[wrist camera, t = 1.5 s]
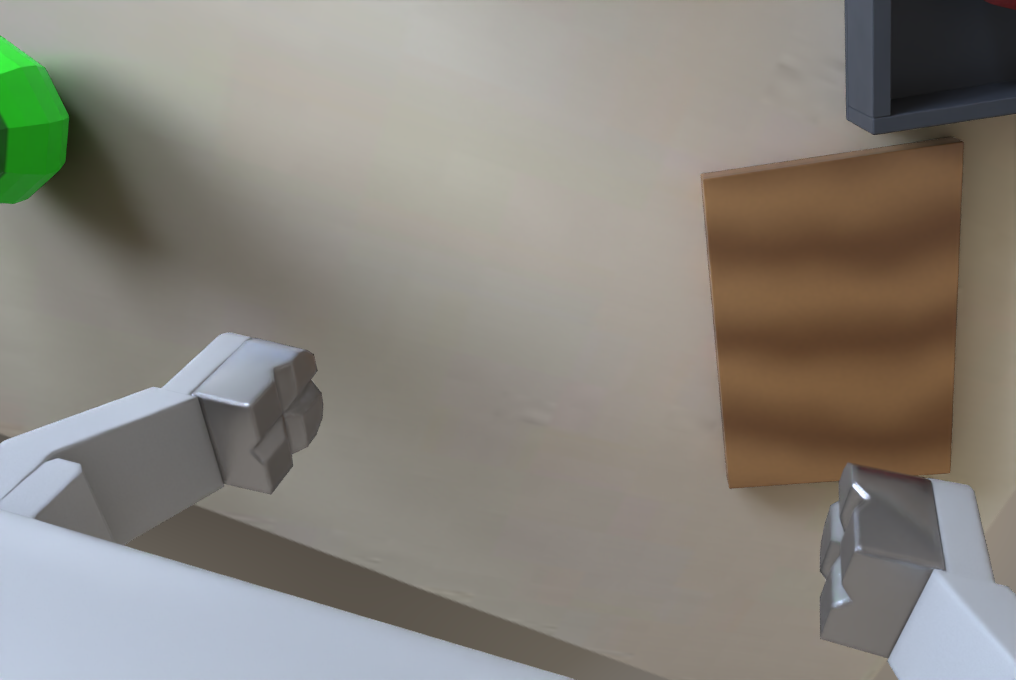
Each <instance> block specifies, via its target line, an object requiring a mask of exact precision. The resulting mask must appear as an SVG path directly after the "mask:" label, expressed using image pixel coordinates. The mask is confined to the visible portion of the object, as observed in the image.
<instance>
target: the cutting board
mask: <svg viewBox="0 0 1016 680" xmlns="http://www.w3.org/2000/svg"><path fill="white" fill-rule="evenodd" d="M963 153H964V141H961V140H959V139H957V138H955V137H948V138H941V139H934V140H927V141H920V142H914V143H907V144H900V145H893V146H887V147H880V148H873V149H866V150H860V151H853V152H846V153H839V154H832V155H826V156H819V157H812V158H805V159H799V160H792V161H785V162H778V163H772V164H765V165H758V166H751V167H744V168H738V169H731V170H724V171H717V172H711V173H704V174H701V185H702V197H703V208H704V220H705V231H706V243H707V255H708V266H709V278H710V289H711V301H712V312H713V324H714V336H715V347H716V359H717V370H718V382H719V394H720V405H721V417H722V428H723V440H724V451H725V463H726V475H727V480H728V485H729V488H730V489H731V488H745V487H759V486H774V485H788V484H802V483H817V482H831V481H839V480H840V478H841V475H842V472H843V469H844V468H845V466H846V465H847V463H848V462H850V463H855V464H860V465H865V466H870V467H875V468H880V469H885V470H890V471H895V472H900V473H905V474H910V475H915V476H917V475H931V474H946V473H950V468H951V444H952V419H953V395H954V371H955V347H956V323H957V298H958V274H959V250H960V226H961V201H962V177H963Z"/></svg>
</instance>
